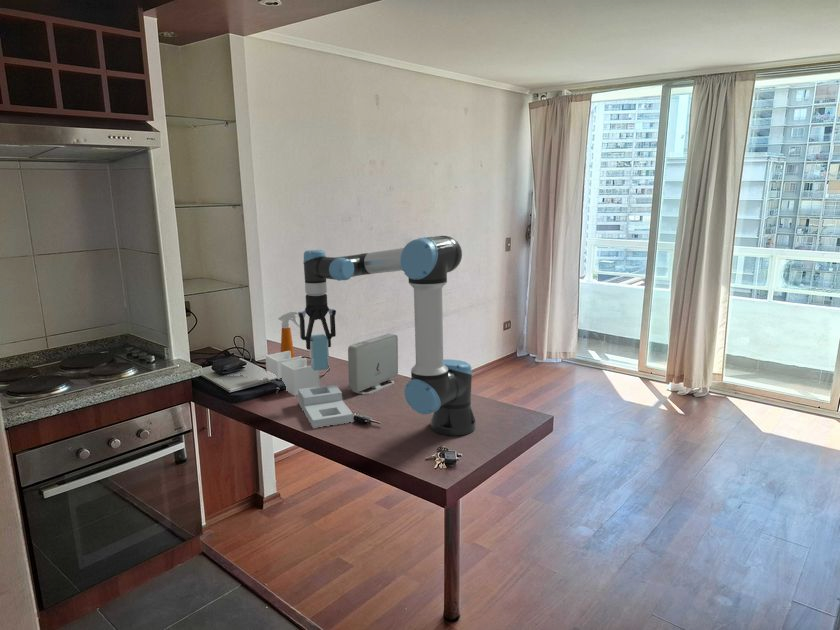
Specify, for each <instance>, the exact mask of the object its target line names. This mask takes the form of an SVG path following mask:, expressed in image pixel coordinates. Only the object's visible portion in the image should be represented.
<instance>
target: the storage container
mask: <svg viewBox="0 0 840 630" xmlns="http://www.w3.org/2000/svg"><path fill="white" fill-rule="evenodd" d="M265 367H266V368H265V369H266V370H268V371H270V372H271V373H273V374H275V375H276V376H277V377H278V378H282V381H283V382H284V384H285V386H286V392H287V391H288V393H289V394H291V395H292V394H293V395H292V396H294V395H295V396H294V397H296V395H297V396H299V395H298V389H303V388H310V387H317V386H321V385H320V370H317V371H314V370H313V368H312V367H311V365H308V360H307V357H304V358H303V356H302V355H299V356H296V357H295V358H291V351H285V352H281V351H279V352H276V353H270V354H266V355H265Z"/></svg>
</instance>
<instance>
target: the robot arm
mask: <svg viewBox="0 0 840 630" xmlns="http://www.w3.org/2000/svg"><path fill="white" fill-rule="evenodd" d="M462 259H463V251H462V247H461V245H460V243H459V242H458V241H457V240H456V239H455V238H453V237H451V236H448V235H438V236H436V235H435V236H427V237H425V236H423V237H418V238H415V239H413V240H409V242H408V243H406V245H404V247H401V248H395V249H387V250H380V251H374V252H367V253H366V252H365V253H359V254H353V255H346V256H345V255H343V256H338V257H337V256H336V257H332V256H331V257H330V256H327V255H326V251H324V250H323V249H308V250H306V251H304V252H303V262H302V263H303V271H304V273H303V274H304V291H305V308H304V310H303V311H298V314H297V316H298V318H299V324H300V327H299V334H300V339H301V340H302V341H305V345H306V346H305V347H306V350H307V351H309V352H308V353H309V359H310V360H311V359H313V344H312V340H311V335H313V334H312V333H313V328H314V324H315V321H318V320H319V321H320V322H321V325H322V327H323V331H324V335H325V336H326V337H327V355H328V358H329V357H330V354H329V353H330V352H329V348H332V340H331V339H332V338H334V337H336V334H337V333H336V330H337V329H336V313H337V310H336V309H334V308H330V307H329V306H328V295H327V292H328V291H327V289H328V288H327V279H328V280H333V281H334V280H335V281H339V282H340V281H348V280H350V279H351V278H354V277H357V276H368V275H374V274H383V273H391V272H392V273H394V272H400V271H401V272H404V276H406V277H407V279H408V284H409V285H410V286H411V287H412V288H413V307H414V308H413V311H414V312H413V313H414V314H413V315H414V343H415V344H414V348H415V350H414V351H415V365H413V367H411V369H410V376H411V378H410V379H411V380H409V381H408V382H407V383H406V385H405V387H404V398H405V401H406V403H407V405H408V406H410V408H411V409H412V410H413V411H415V412H416V413H418V414H420V415H429V414H432V413H433V414H432V416H431V419H430V428H431V430H432V431H434V432H435V433H438V434H441V435H445V436H452V437H455V436H465V435H468V434H471V433H473V432H474V431H475V430H476V426H477V425H476V418H475V415H474V412H473V409H472V377H473V372H472V365H471V364H470V363H469V362H467V361H464V360H463V361H462V360H459V359H448V358H447V359H444V329H443V328H444V325H443V319H444V316H443V288H444V286H445V285H446V284H447V283H448V273H451V272H453V271H454V270H456V269H457V268H458V266H459V265H460V263H461V261H462ZM327 314H329V322H330V323H329V324H330V329H329V326H328V323H327V320H326V316H327ZM306 315H307V316H308V318H309V319H308V325H307V328H306V323H305V318H306ZM306 329H307V330H306Z"/></svg>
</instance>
